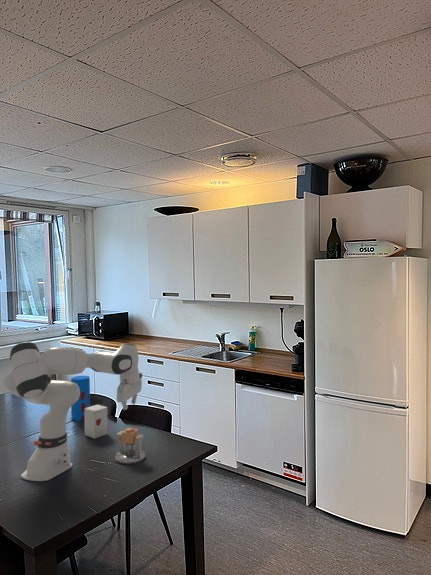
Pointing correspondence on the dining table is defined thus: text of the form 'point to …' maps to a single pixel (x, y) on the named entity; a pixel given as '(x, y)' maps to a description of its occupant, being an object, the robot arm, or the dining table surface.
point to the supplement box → (96, 421)
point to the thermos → (81, 397)
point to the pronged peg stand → (130, 451)
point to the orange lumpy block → (129, 435)
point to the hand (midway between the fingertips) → (129, 406)
